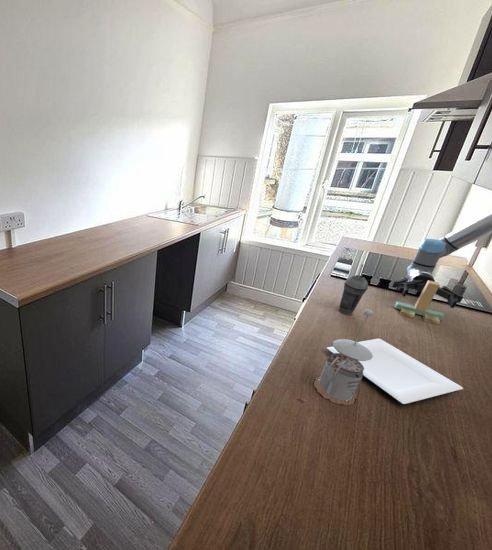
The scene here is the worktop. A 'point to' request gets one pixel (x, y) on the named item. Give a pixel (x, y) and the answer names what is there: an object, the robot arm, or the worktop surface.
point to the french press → (345, 367)
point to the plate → (402, 373)
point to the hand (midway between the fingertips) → (428, 298)
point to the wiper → (423, 301)
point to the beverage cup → (352, 293)
